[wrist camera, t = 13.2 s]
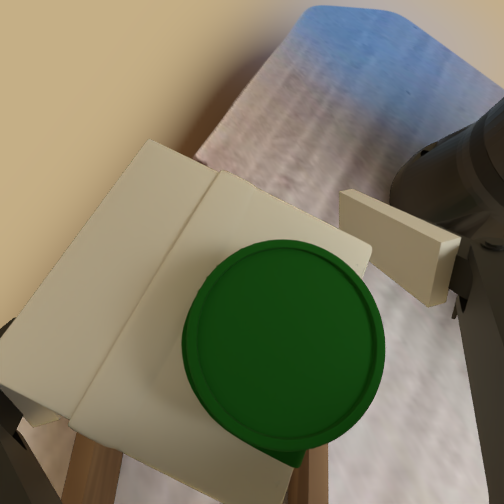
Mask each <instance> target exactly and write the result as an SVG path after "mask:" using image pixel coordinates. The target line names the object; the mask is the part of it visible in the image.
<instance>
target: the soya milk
mask: <svg viewBox="0 0 504 504" xmlns="http://www.w3.org/2000/svg"><path fill="white" fill-rule="evenodd" d="M371 253H372V246H371V245H369V244H367V243H365V242H363V241H362V240H360V239H358V238H356V237H354V236H352V235H350V234H348V233H346V232H344V231H342V230H340V229H338V228H336V227H334V226H332V225H330V224H328V223H326V222H324V221H322V220H320V219H318V218H316V217H314V216H312V215H310V214H308V213H306V212H304V211H302V210H300V209H298V208H296V207H294V206H292V205H290V204H288V203H286V202H284V201H282V200H280V199H278V198H276V197H274V196H272V195H270V194H268V193H266V192H264V191H262V190H260V189H258V188H256V187H255V186H254V185H253V184H251V183H250V182H248V181H246V180H244V179H242V178H240V177H238V176H236V175H234V174H232V173H230V172H228V171H225V170H221V171H220V172H217V171H215V170H213V169H211V168H209V167H207V166H205V165H203V164H201V163H198V162H196V161H194V160H192V159H190V158H188V157H186V156H184V155H182V154H180V153H178V152H176V151H174V150H172V149H170V148H168V147H166V146H164V145H161V144H160V143H158V142H155V141H153V140H151V139H148V140H147V141H146V142H145V144H144V145H143V146H142V148H141V149H140V151H139V152H138V153H137V155H136V156H135V157H134V159H133V160H132V161H131V163H130V164H129V165H128V167H127V168H126V169H125V171H124V172H123V174H122V175H121V176H120V178H119V179H118V181H117V182H116V183H115V184H114V186H113V187H112V188H111V190H110V191H109V193H108V194H107V195H106V197H105V198H104V199H103V201H102V202H101V203H100V205H99V206H98V207H97V209H96V210H95V212H94V213H93V214H92V216H91V217H90V218H89V220H88V221H87V222H86V224H85V225H84V226H83V228H82V229H81V231H80V232H79V233H78V235H77V236H76V237H75V239H74V240H73V241H72V243H71V244H70V246H69V247H68V248H67V250H66V251H65V252H64V254H63V255H62V257H61V258H60V259H59V260H58V262H57V263H56V265H55V266H54V267H53V269H52V270H51V271H50V273H49V274H48V275H47V277H46V278H45V279H44V281H43V282H42V284H41V285H40V286H39V288H38V289H37V290H36V292H35V293H34V294H33V296H32V297H31V298H30V300H29V301H28V302H27V304H26V305H25V307H24V308H23V309H22V311H21V312H20V313H19V315H18V316H17V317H16V319H15V320H14V321H13V323H12V324H11V326H10V327H9V328H8V330H7V331H6V332H5V334H4V335H3V336H2V338H1V339H0V384H2V385H4V386H6V387H8V388H9V389H11V390H13V391H15V392H17V393H19V394H21V395H23V396H25V397H27V398H29V399H31V400H32V401H34V402H36V403H38V404H40V405H42V406H44V407H46V408H48V409H50V410H52V411H54V412H56V413H57V414H59V415H61V416H63V417H65V418H67V419H69V420H70V421H69V423H68V426H69V427H70V428H71V429H73V430H74V431H76V432H78V433H80V434H81V435H83V436H85V437H87V438H89V439H91V440H93V441H95V442H97V443H99V444H101V445H103V446H105V447H108V448H114V449H117V450H119V451H120V452H122V453H124V454H126V455H128V456H130V457H132V458H134V459H136V460H138V461H140V462H142V463H144V464H146V465H148V466H150V467H152V468H154V469H156V470H158V471H160V472H162V473H164V474H166V475H168V476H170V477H172V478H174V479H176V480H178V481H180V482H182V483H183V484H185V485H187V486H189V487H191V488H193V489H195V490H197V491H199V492H201V493H203V494H205V495H207V496H209V497H211V498H213V499H215V500H217V501H219V502H221V503H223V504H282V503H283V500H284V497H285V494H286V491H287V488H288V485H289V481H290V478H291V475H292V472H293V469H294V468H299V467H300V466H301V464H302V461H303V458H304V455H305V452H306V450H309V449H314V448H316V447H319V446H322V445H325V444H327V443H329V442H331V441H333V440H335V439H337V438H338V437H340V436H341V435H343V434H344V433H345V432H347V431H348V430H349V429H350V428H351V427H353V426H354V425H355V424H356V423H357V422H358V420H359V419H360V418H361V417H362V416H363V414H364V413H365V412H366V411H367V409H368V407H369V406H370V404H371V402H372V401H373V399H374V397H375V395H376V392H377V390H378V387H379V384H380V382H381V378H382V374H383V369H384V362H385V336H384V329H383V324H382V320H381V316H380V313H379V310H378V308H377V305H376V303H375V301H374V299H373V297H372V295H371V293H370V291H369V289H368V288H367V286H366V285H365V283H364V282H363V281H362V277H363V275H364V272H365V270H366V267H367V265H368V262H369V259H370V256H371Z"/></svg>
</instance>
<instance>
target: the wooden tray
mask: <svg viewBox="0 0 504 504" xmlns="http://www.w3.org/2000/svg"><path fill="white" fill-rule="evenodd" d="M122 456H123V453H122V452H120V451H119V450H117V449H114V448H108V447H105V446H103V445H101V444H99V443H97V442H95V441H93V440H91V439H89V438H87V437H85V436H83V435H81V434H80V433H78V432H77V434H76V438H75V442H74V446H73V451H72V455H71V459H70V463H69V468H68V472H67V476H66V481H65V485H64V489H63V493H62V498H61V501H62V503H63V504H114V499H115V494H116V489H117V483H118V478H119V473H120V467H121V462H122ZM288 504H328V443H327V444H325V445H322V446H319V447H316V448H314V449H309V450H306V452H305V455H304V458H303V461H302V464H301V466H300V467H299V468H294V469H293V472H292V475H291V478H290V481H289V485H288Z"/></svg>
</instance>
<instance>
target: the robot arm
mask: <svg viewBox="0 0 504 504" xmlns="http://www.w3.org/2000/svg"><path fill="white" fill-rule="evenodd" d="M339 229H340V230H342V231H344V232H346V233H348V234H350V235H352V236H354V237H356V238H358V239H360V240H362V241H363V242H365V243H367V244H369V245H371V246H372V253H371V256H370V259H369V262H371V263H372V264H373V265H374V266H376V267H377V268H378V269H380V270H381V271H382V272H383V273H385V274H386V275H387V276H389V277H390V278H391V279H392V280H394V281H395V282H396V283H397V284H399V285H400V286H401V287H403V288H404V289H405V290H406V291H408V292H409V293H410V294H411V295H413V296H414V297H415V298H417V299H418V300H419V301H420V302H422V303H423V304H424V305H426V306H427V307H432V306H435V305H438V304H442V303H445V302H446V299H447V295H448V291H449V289H451V290H452V291H454V292H455V293H457V294H458V295H457V299H456V303H455V307H454V311H453V314H452V319H455V318H456V315H458V319H459V325H460V331H461V337H462V342H463V348H464V354H465V360H466V365H467V371H468V377H469V383H470V388H471V394H472V400H473V406H474V411H475V417H476V423H477V429H478V434H479V440H480V446H481V452H482V457H483V463H484V469H485V475H486V480H487V486H488V493H489V504H504V97H503V98H502V99H501V100H500V101H499V102H498V103H497V104H495V106H494V107H492V108H491V109H490V110H489V111H488V112H487V113H486V114H485V115H483V116H482V117H481V118H480V119H479V120H478V121H476V122H475V123H473V124H471V125H469V126H467V127H465V128H463V129H461V130H459V131H457V132H455V133H453V134H451V135H449V136H447V137H445V138H443V139H441V140H439V141H437V142H435V143H432V144H430V145H428V146H426V147H425V148H423V149H422V150H420V151H419V152H417V153H416V154H415V155H414V156H413V157H412V158H411V159H410V160H409V161H408V162H407V163H406V164H405V165H404V166H403V167H402V168H401V169H400V170H399V172H398V173H397V175H396V177H395V178H394V181H393V183H392V186H391V191H390V205H388V204H385V203H383V202H381V201H379V200H377V199H374V198H372V197H370V196H368V195H365V194H363V193H361V192H359V191H356V190H354V189H349V190H344V191H340V192H339ZM15 319H16V318H13V319H12V320H11V321H9V322H8V323H7V324H6V325H4V326H3V327H2V328H1V329H0V339H1V338H2V336H3V335H4V334H5V332H6V331H7V330H8V328H9V327H10V326H11V324H12V323H13V321H14V320H15ZM22 417H24V418H25V419H26V420H27V421H28V422H29V423H30V425H31V426H32V427H33V428H34V427H37V426H40V425H43V424H47V423H50V422H53V421H57V420H60V418H61V415H59V414H57V413H56V412H54V411H52V410H50V409H48V408H46V407H44V406H42V405H40V404H38V403H36V402H34V401H32V400H31V399H29V398H27V397H25V396H23V395H21V394H19V393H17V392H15V391H13V390H11V389H9V388H8V387H6V386H4V385H2V384H0V504H63V503H62V501H61V500H60V498H59V496H58V495H57V493H56V491H55V489H54V488H53V486H52V484H51V483H50V481H49V479H48V478H47V476H46V474H45V473H44V471H43V469H42V468H41V466H40V464H39V462H38V461H37V459H36V457H35V456H34V454H33V452H32V451H31V449H30V447H29V446H28V444H27V442H26V441H25V439H24V437H23V436H22V434H21V433H20V432H19V431H18V430H17V427H18V425H19V423H20V421H21V419H22Z"/></svg>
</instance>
